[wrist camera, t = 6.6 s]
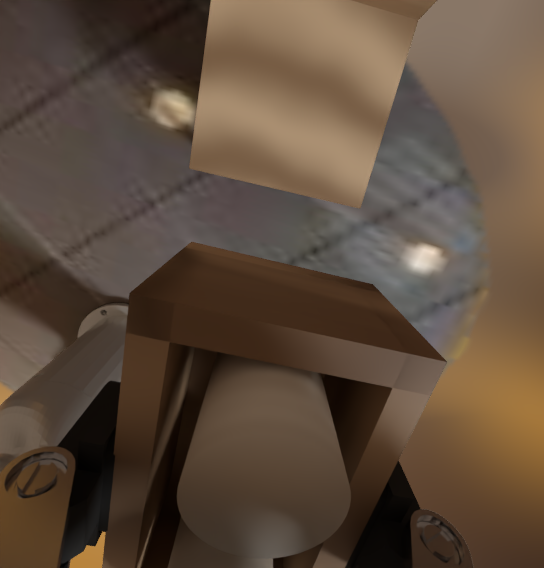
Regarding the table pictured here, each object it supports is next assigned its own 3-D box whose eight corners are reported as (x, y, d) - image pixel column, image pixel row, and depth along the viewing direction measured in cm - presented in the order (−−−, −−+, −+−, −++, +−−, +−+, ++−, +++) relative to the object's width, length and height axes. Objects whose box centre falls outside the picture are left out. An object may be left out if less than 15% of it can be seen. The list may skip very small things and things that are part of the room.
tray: (293, 496, 13) (311, 734, 8) (154, 473, 13) (62, 708, 7) (372, 284, 10) (503, 420, 4) (191, 242, 10) (78, 334, 4)
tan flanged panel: (322, 196, 39) (372, 212, 21) (221, 172, 38) (177, 166, 19) (354, 78, 35) (452, -35, 16) (241, 47, 34) (210, -111, 15)
